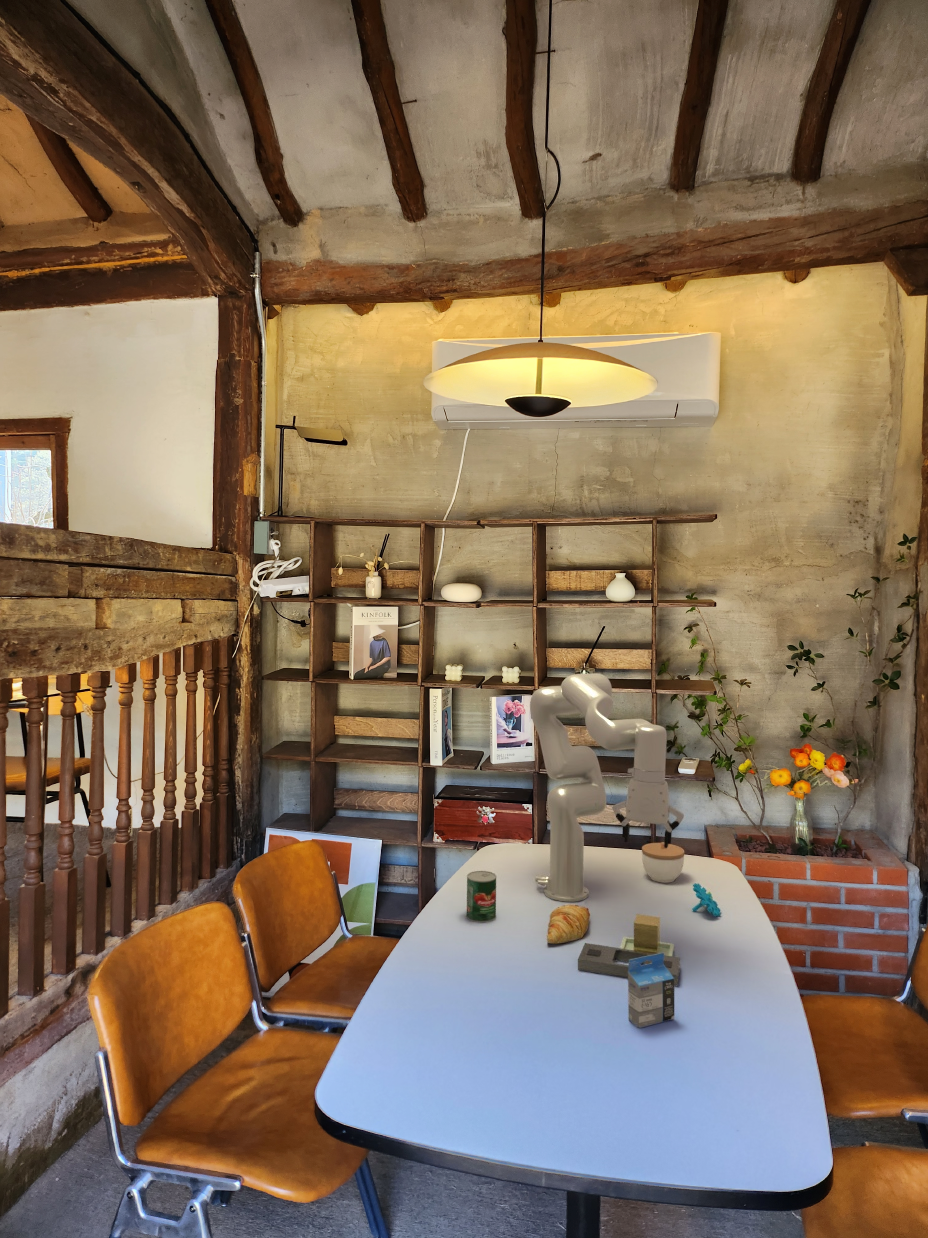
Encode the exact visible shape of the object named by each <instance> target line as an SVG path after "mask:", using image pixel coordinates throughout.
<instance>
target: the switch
mask: <svg viewBox="0 0 928 1238" xmlns="http://www.w3.org/2000/svg"><path fill="white" fill-rule="evenodd" d="M649 955H654V953H647V952H641V951H634V950H628V949H621V948H620V947H614V946H608V945H600V944H595V943H590V942H589V943H588V942H585V943H584V945H583V946H582V949H581V951H580V953H579V956H578V959H577V971H583V972H588V973H589V972H590V973H594V974H601V975H606V976H613V977H619V978H624V979H625V978H626V979H628V971H629V964H624V963H619V962H618V963H617V962H616V961H620V962H626V963H629V960H630V959H635V958H639V957H644V956H649ZM650 963H652V961H648V960H646V961H645V962H642V963H641V964H640V965H645V964H650ZM663 964H664V965H665V967H666V968H667V969H668V971H669V972H670V973H671V975H672V976H673V978H674V987H678V985H679V984H678V982H679V976H680V972H681V971H680V969H681V957H679V956H674V955H673V956H667V955H664V960H663Z"/></svg>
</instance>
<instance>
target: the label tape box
mask: <svg viewBox="0 0 928 1238" xmlns="http://www.w3.org/2000/svg"><path fill="white" fill-rule="evenodd" d="M646 960H648V961H652V963H650V964H645V965H644V964H641V963H642V962H645V961H646ZM663 960H664V953H659V954H654V955H649V956H644V957H639V958H635V959H630V960H629V962H628V965H629V971H628V978H627V983H628V984H627V989H628V991H627V996H628V999H627V1002H628V1003H627V1004H628V1021H630V1022H631V1023H632V1024H633V1025H635V1026H636V1027H637V1028H639V1029H640V1028H644V1027H648V1026H652V1025H656V1024H659V1023H664V1022H668V1021H672V1020H675V986H674V978H673V976H672V975H671V973H670V972H669V971H668V969H667V968H666V967H665V965H664V964H663Z"/></svg>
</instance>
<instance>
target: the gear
mask: <svg viewBox="0 0 928 1238" xmlns="http://www.w3.org/2000/svg"><path fill="white" fill-rule="evenodd" d="M692 887H693V888H692V890H693V892H695V897H696V898H697V899H699V903H698V904H696V905H695V906H693V908H691V910H692V912H693V913H696V912H697V911H698V910H699V909H701V908H702V907H705V906H706V907H707V908H706V910H707V911H708V912H709V914H711V913H712V915H713V916H714V917H720V916H721V915H722V914H721V908H719V907H718V905H719V904H718V902H717V901H715V900H714V898H713V894H712V893H711V892H710V891H709V892H708V890H707V889H706V888H705V887H704V886H703V887H702V885H701V884H700V883H693V884H692Z"/></svg>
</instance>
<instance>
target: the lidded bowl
mask: <svg viewBox="0 0 928 1238" xmlns="http://www.w3.org/2000/svg"><path fill="white" fill-rule="evenodd" d="M641 853H642V854H641V857H642V858H641V859H642V865H643V868H644V871H645V872H646V874H647V875H648V877H650V879H651V881H654V882H657V883H662V884H664V883H665V884H668V883H669V884H670V883H673V882H675V879H677V878H678V877H679V876H680V875H681V873H682V872H683V867H684V861H685V850H684V849H683V848H682V847H681V846H678V845H676V844H672V843H671V844H668V847H667V848H665V847H664V841H663V842H652V843H646V844H644V845H642V846H641Z"/></svg>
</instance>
